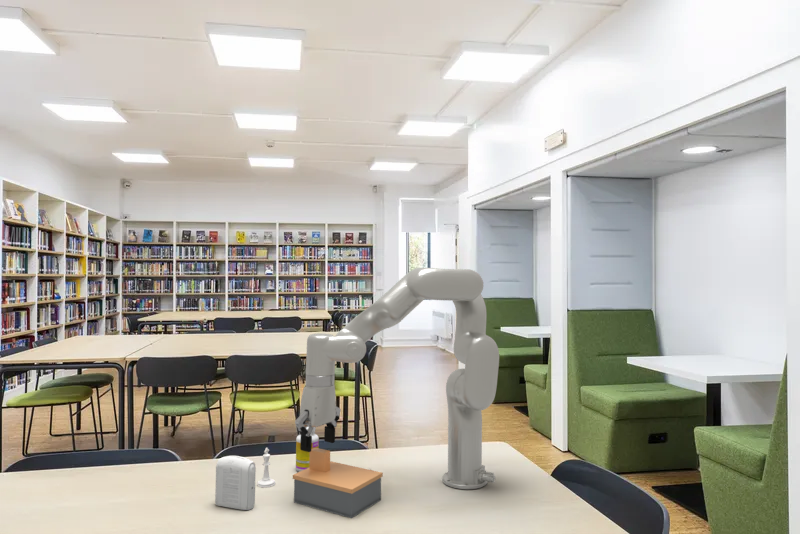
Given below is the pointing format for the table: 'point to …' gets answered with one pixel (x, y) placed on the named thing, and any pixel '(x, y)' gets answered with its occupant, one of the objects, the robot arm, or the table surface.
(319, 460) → the lid
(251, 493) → the photo printer
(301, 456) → the supplement bottle
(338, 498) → the tub
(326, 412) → the robot arm
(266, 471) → the chess piece
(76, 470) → the table surface
